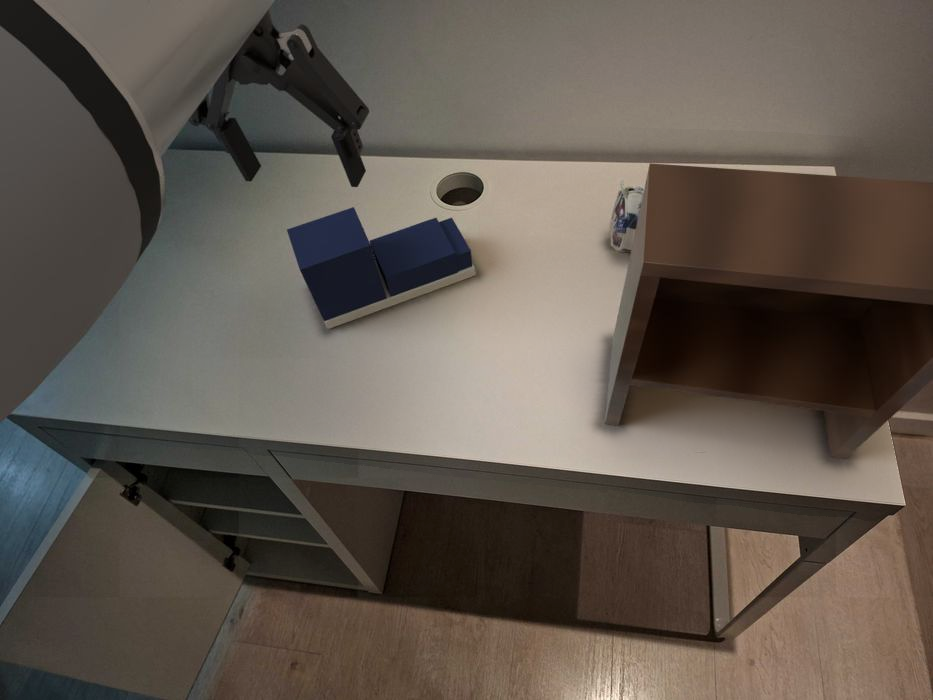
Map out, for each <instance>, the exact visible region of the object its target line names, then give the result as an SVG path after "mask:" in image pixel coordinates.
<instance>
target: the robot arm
mask: <svg viewBox="0 0 933 700" xmlns="http://www.w3.org/2000/svg"><path fill="white" fill-rule="evenodd" d="M274 2H276V0H0V424H1V423H2V422H4V420H6V419H7V418H8V417H9V416H10V415H11V414H12V413H13V412H15V410H16V409H17V408H18V407H20V405H22V403H24V402H25V401H26V400H27V399H28V398H30V396H31V395H32V394H33V393H34V392H35V391H36V390H37V389H38V388H39V387H40V386H41V384H42V383H43V382H44V381H45V380H46V379H47V378H48V377H49V376H50V375H51V373H52V372H53V371H54V370H55V369H56V368H57V367H58V366H59V365H60V363H61V362H62V361H63V360H64V359H65V358H66V357H67V356H68V355H69V354H70V353H71V351H72V350H73V349H74V348H75V347H76V346H77V345H78V344H79V343H80V342H81V340H83V339H84V337H85V336H86V335H87V334H88V332H89V331H90V330H91V328H92V327H93V326H94V324H96V321H97V320H98V319H99V318H100V316H101V315H102V314H103V312H104V311H105V309H106V308H107V307H108V305H109V304H110V303H111V301H112V300H113V299H114V298H115V296H116V295H117V293H118V292H119V291H120V290H121V288H122V287H123V285H124V284H125V283H126V282H127V280H128V278H129V277H130V275H131V273H132V271H133V269H134V268H135V266H136V264H137V263H138V262H139V260H140V258H141V257H142V255H143V254H144V252H145V250H146V249H147V248H148V247H149V245H150V243H151V242H152V240H153V238H154V236H155V235H156V233H157V230H158V228H159V227H160V224H161V223H162V219H163V216H164V215H163V214H164V210H165V205H166V179H165V173H164V167H163V162H162V157H163V155H165V153H166V151H167V150H168V148H169V147H170V146H171V145H172V144H173V142H174V140H175V139H176V137H178V135H179V134H180V133H181V131H182V129H183V128H184V127H185V126H186V124H187V122H189V124H191V125H192V126H194V127H199V126H200V125H202V126H205V127H206V128H207V130H209V131H210V132H212V133H213V134H214V136H215V138H216V140H217V141H218V143H219V144H220V145H219V146H220V147H221V148H222V149H223V151H224V152H225V153H226V154H230V157H231V158H232V160H233V162H234V164H235V165H236V167H237V169H238V171H239V173H240V174H241V175H242V177H243V179H244V181H245V182H252V181H253V180H254V178H255V177H256V175H257V174H258V172H259V170H260V169H261V168H262V164H261V163H260V161H259V159H258V157H257V155H256V154H255V152H254V149H253V147H252V146H251V144H250V142H249V141H248V139H247V137H246V135H245V133H244V131H243V129H242V128H241V126H240V124H239V123H238V122H239V121H237V119H236V117H229V118H228V119H226V118H227V117H228V115H229V114H230V111H229V109H230V105H231V102H232V97H233V94H234V90H235V85H236V82H238V83H239V85H240V86H241V85H243V86H246V85H249V84H256V85H259V86H261V85H262V86H264V85H265V86H267V85H269V84H270V85H271V86H272V87H273V88H274V89H276V90H277V91H279V92H283V91H284V92H286V93H287V94H288V95H289V96H291V97H292V98H293V99H294V100H295V101H297V102H298V103H299V104H301V105H302V106H303V107H304V108H305V109H307V110H308V111H310V113H312V114H313V115H314V116H316V117H317V118H318V119H319V120H320V121H322V122H323V123H324V124H326V125H327V126H328V127H329V128H331V130H333V132H332V134H331V136H330V138H331V140H332V142H333V145H334V147H335V150H336V152H337V155H338V157H339V160H340V163H341V165H342V167H343V170H344V172H345V175H346V177H347V179H348V182H349V184H350V187H351V188H358V187H359V185H360V183H361V181H362V179H363V178H364V176H365V174H366V172H367V170H366V167H365V164H364V162H363V159H362V156H361V154H362V152H363V150H364V145H363V142H362V139H361V136H360V133H359V130H361V128H362V126H363V125H364V123H365V121H366V119H367V117H368V115H369V114H370V108H369V107H368V106H367V104H365V102H364V101H363V100H362V99H361V98H360V96H359V95H358V94H357V93H356V92H355V90H354V89H353V88H352V86H350V85H349V83H348V82H347V80H345V79H344V77H343V76H342V75H341V74H340V72H339V71H338V70H337V69H336V68H335V66H334V65H333V63H332V62H330V60H329V59H328V58H327V57H326V56H325V54H324V53H323V52H322V51H321V49H319V47H318V45H317V43H316V41H315V38H314V37H313V34H312V33H311V30H310V29H309V27H308V26H307V25H306V24H302V23H301V24H298V25H297V27H296V28H295V30H293V31H287V32H286V31H285V32H281V31H280V30H279V29H278V28H277V27H276V26H275V24H274V23H273V21H272V16H271V10H270V8H271V6H272V5H273V4H274ZM281 66H282V67H283V68H284V70H285V71H284V73H283V74H279V72H280V69H281ZM211 90H212V92H211V97H209V92H210V91H211ZM209 98H210V100H209Z"/></svg>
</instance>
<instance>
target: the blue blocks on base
mask: <svg viewBox="0 0 933 700" xmlns="http://www.w3.org/2000/svg"><path fill="white" fill-rule="evenodd" d="M286 232H287V236H288V238H289V241H290V245H291V247H292V251H293V253H294V257H295V260H296V262H297V266H298V268H299V269H298V270H299V271H300V273H301V276H302V277H303V280H304V282H305V284H306V286H307V288H308V290H309V292H310V294H311V297H312V299H313V301H314V304H315V305H316V308H317V309H318V311H319V314H320V315H321V318H322V320H323V322H324V325H325V327H326V329H327V330H330V329H333V328H336V327H338V326H341V325H343V324H346V323H348V322H352V321H355V320H357V319H360V318H363V317H365V316H368V315H370V314H374V313H376V312H379V311H381V310H385V309H388V308H390V307H393V306H395V305H399V304H401V303H404V302H407V301H409V300H412V299H416V297H417V298H418V297H420V296H423V295H425V294H428V293H431V292H433V291H436V290H439V289H442V288H445V287H448V286H450V285H453V284H455V283H458V282H462V281H464V280H466V279H469V278H472V277H475V276H476V274H477V273H476V267H475V266H474V264H473V259H472V258H473V257H472V250H471V248H470V246H469V245H468V243H467V241H466V240H465V238H464V236H463V235H462V232H461V231H460V229H459V227H458V226H457V224H456V222H455V220H454V219H453V217H449V218H446V219H444V220H441V221H439V220H438V218H437V217H433V218H431V219H427V220H425V221H421V222H419V223H415V224H413V225H410V226H408V227H404V228H401V229H398V230H396V231H392V232H390V233H387V234H384V235H381V236H379V237H375V238H372V239H369V237H368V236H367V234H366V231H365V229H364V227H363V224H362V222H361V220H360V218H359V215H358V213H357V211H356V208H355V207H354V206H352V207H350V208H346V209H343V210H340V211H337V212H334V213H332V214H329V215H326V216H323V217H320V218H317V219H314V220H311V221H308V222H305V223H301V224H299V225H296V226H293V227H290V228H287V229H286Z"/></svg>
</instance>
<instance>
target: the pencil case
mask: <svg viewBox="0 0 933 700" xmlns="http://www.w3.org/2000/svg"><path fill="white" fill-rule="evenodd" d="M643 193H644V188H643V187H642V186H640V185H639V186H638V185H637V186H636V187H635V186H625V184H624V180H623V179H621V180H620V189H619V191H618V192H617V195H616V198H615V201H614V205H613V209H612V212H611V213H612V214H611V219H610V226H609V227H610V228H609V229H610V231H609V232H610V233H609V234H610V237H609V238H610V246H611V247H612V248H613V249H615V250H616V251H617V252H619V253H631V250H632V245H633V241H634V236H635V231H636V226H637V222H638V217H639V212H640V207H641V203H642V198H643Z"/></svg>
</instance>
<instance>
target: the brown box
mask: <svg viewBox="0 0 933 700" xmlns="http://www.w3.org/2000/svg"><path fill="white" fill-rule="evenodd" d="M645 179H646V180H645V183H644V188H643V189H644V193H643V198H642V203H641V207H640V212H639V217H638V222H637V226H636V231H635V236H634V241H633V245H632V250H631V252H630V255H629V260H628V265H627V269H626V273H625V279H624V284H623V289H622V293H621V297H620V302H619V308H618V313H617V316H616V322H615V327H614V331H613V336H612V342H611V351H610V352H611V353H610V362H609V371H608V372H609V374H608V384H607V394H606V406H605V415H604V416H605V417H604V424H605V425H612V426H617V427H618V426H619V425H620V422H621V419H622V415H623V411H624V407H625V404H626V400H627V397H628V393H629V390H630V386H635V387H643V388H652V389H656V390H657V389H658V390H664V391H665V390H666V391H673V392H674V391H675V392H681V393H687V394H688V393H689V394H694V395H703V396H711V397H717V398H724V399H725V398H726V399H733V400H740V401H747V402H748V401H749V402H755V403H756V402H757V403H763V404H769V405H777V406H784V407H785V406H786V407H792V408H793V407H794V408H801V409H807V410H815V411H823V413H824V421H825V429H826V436H827V444H828V451H829V457H830V458H835V459H836V458H837V459H841V460H846V459H848V458H849V457H850V456H851V455H852V454H853V453H854V452H855V451H857V449H858V448H859V447H861V446H862V445H863V444H864V443H865V442H866V441H867V440H868V439H870V438H871V437H872V436H873V435H874V434H875V433H877V431H878V430H879V429H880V428H881V427H883V426H884V425H885V424H886V423H887V422H888V421H890V419H892V417H893V416H895V414H897V413H898V412H899V411H900V410H901V409H902V408H903V407H904V406H906V405H907V403H909V402H910V401H911V400H912V399H913V398H914V397H915V396H916V395H917V394H919V393H920V392H921V391H922V390H923V389H924V388H925V387H927V385H928V384H930V383H931V382H932V381H933V181H923V180H922V181H921V180H905V179H892V178H891V179H889V178H874V177H862V176H861V177H860V176H845V175H833V174H832V175H831V174H817V173H801V172H786V171H773V170H772V171H771V170H755V169H741V168H740V169H739V168H725V167H712V166H711V167H709V166H698V165H697V166H694V165H680V164H667V163H649V164H648V170H647V174H646V178H645Z"/></svg>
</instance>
